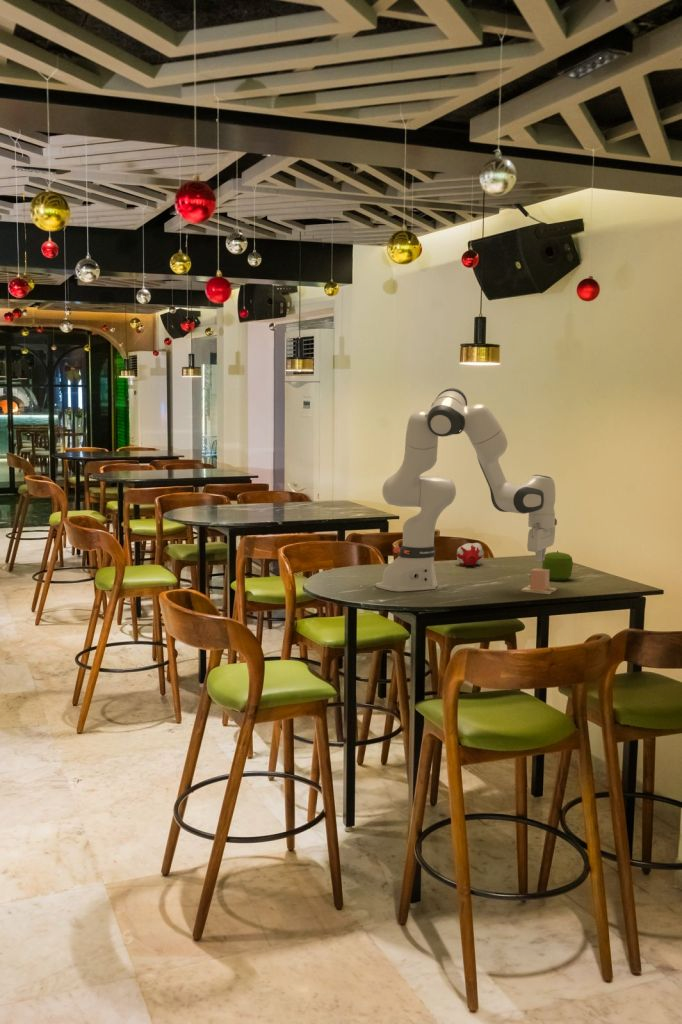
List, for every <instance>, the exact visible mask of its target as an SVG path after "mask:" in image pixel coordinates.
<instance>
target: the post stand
mask: <svg viewBox="0 0 682 1024" xmlns="http://www.w3.org/2000/svg"><path fill="white" fill-rule="evenodd" d="M557 590H558V587H555V586H554V587H553V586H549V588H548V589H547V590H545V591H543V590H533V589H530V584H528V585H527V586H525V587H523V588H521V589H520V592H524V593H534V594H543V595H545V594H546V595H550V594H552V593H554V592H555V591H557Z"/></svg>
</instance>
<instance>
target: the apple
mask: <svg viewBox="0 0 682 1024" xmlns="http://www.w3.org/2000/svg"><path fill="white" fill-rule="evenodd" d="M541 569H549V581H554V582H561V581H566V580H567V579H569V578H570V577H572V572H573V557H572V556H571V555H570V554H569V553H565V552H559V550H557V551H552V552H547V553H545V556H544V561H542V568H541Z"/></svg>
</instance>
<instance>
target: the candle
mask: <svg viewBox="0 0 682 1024" xmlns="http://www.w3.org/2000/svg"><path fill="white" fill-rule="evenodd" d="M484 555H485V553H484V550H483V546H482V544H481V543H480V542H473V543H471V542H468V543H464V544H463V545H461V546H459V547H458V548H457V550H456V554H455V556H456V559H457V561H458V562H459V564H460V565H461V566H470V567H474V566H476V565H477V566H480V565H481V564H482V562H483V560H484V558H485V556H484Z"/></svg>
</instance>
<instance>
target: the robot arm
mask: <svg viewBox="0 0 682 1024" xmlns="http://www.w3.org/2000/svg"><path fill="white" fill-rule="evenodd" d="M462 432H464V433H465V434H466V436H467V437H468V439H469V441H470V443H471V445H472V447H473V449H474V450H475V453H476V457H477V460H478V464H479V466H480V468H481V471H482V473H483V476H484V478H485V480H486V483H487V485H488V488H489V490H490V491H489V492H490V500H491V503H492V506H493V507H494V508H495V509H496V510H497V511H499V512H503V513H515V514H522V515H524V514H528V521H527V522H528V525H527V527H529V528H530V529H529V531H528V534H527V552H532V553H534V554H535V557H536V559H535V560H536V562H537V563H543V561H544V556H545V555H546V552H547V548H549V547H552V546H553V545H554V543H555V537H556V536H555V535H556V527H557V525H558V519H557V518H556V515H555V514H556V511H555V508H554V507H555V503H556V485H555V480H554V479H553V478H552V477H550V476H547V475H540V474H533V475H532V476H531V477H530V478H528V480H526V481H525V482H522V483H520V484H514V483H512V482H510V481H508V479H507V478H506V476H505V474H504V472H503V470H502V468H501V465H500V463H499V458H501V457H502V456H503V455H504V454H505V453H506V450H507V447H508V440H507V436H506V434H505V431H504V430H503V428H502V426H501V424H500V423H499V421H498V419H497V418H496V416H495V415H494V413H493V412H492V410H491V409H490V408H489V407H488V406H487V405H486V404H483V403H475V404H471V405H468V400H467V396H466V395H465V394H464V392H463V391H462V390H460V389H458V388H454V387H453V388H452V387H451V388H447V389H444V390H443V391H442V392H440V393H439V394H438V395H437V396H436V398H435V400H434V401H433V402H432V404H431V407H430V409H428V410H417V411H415V412H413V413H411V415H410V416H409V418H408V422H407V426H406V432H405V445H404V456H403V461H402V462H401V466H400V467H399V468H398V469H397V471H396V472H395V473H394V474H393V475H391V476H390V477H388V478H387V479H386V480H385V481H384V483H383V486H382V491H381V492H382V496H383V499H384V500H385V502H386V503H387V504H388V505H390V506H395V507H404V508H406V507H408V508H409V507H411V508H413V507H414V508H416V507H418V508H420V512H419V513H418V514H416V515H413V516H412V517H410V518H408V519H407V520H405V522H404V523H403V525H402V545H401V546H400V547H397V546H394V547H393V553H396V554H397V555H398V556H397V557H396V558H395V559H394V560H393V561H392V562H391V563H389V565H387V566H386V567H385V568H384V570H383V573H382V581H380V582H376V583H375V586H376V588H379V589H381V590H386V591H389V592H390V591H391V592H411V591H424V590H425V591H426V590H436V589H437V587H438V586H439V584H438V581H437V577H436V568H435V556H436V546H435V543H434V542H435V531H436V524H437V521H438V519H439V517H440V515H441V514H442V512H443V511H444V510H445V509H446V508H448V507H449V506H450V505H451V504H452V503H453V502H454V500H455V498H456V495H457V488H456V486H455V483H454V482H453V480H452V479H451V478H448V477H445V476H439V475H422V474H424V473H425V472H427V471H428V472H429V471H430V470H431V469H433V468H434V466H435V465H436V463H437V460H438V459H437V458H438V447H439V445H438V443H439V437H442V438H443V437H449V436H452V435H453V436H454V435H460V434H461V433H462Z"/></svg>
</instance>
